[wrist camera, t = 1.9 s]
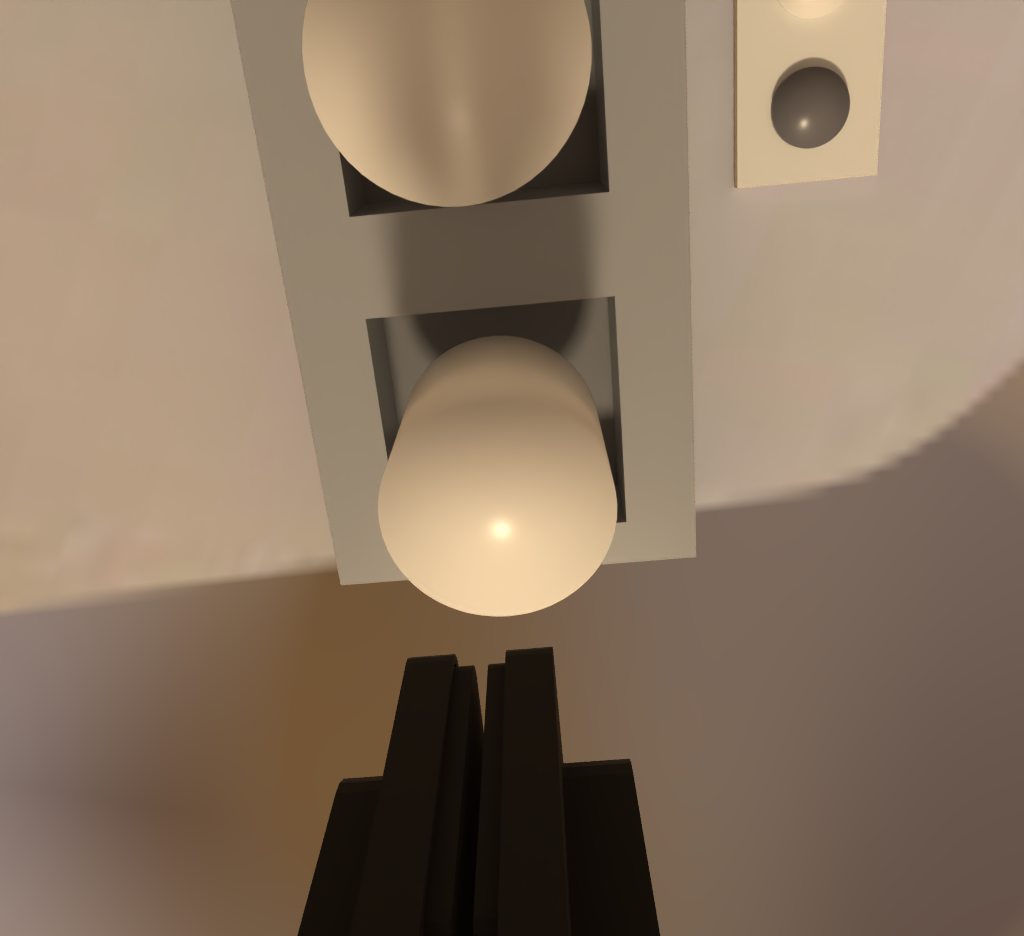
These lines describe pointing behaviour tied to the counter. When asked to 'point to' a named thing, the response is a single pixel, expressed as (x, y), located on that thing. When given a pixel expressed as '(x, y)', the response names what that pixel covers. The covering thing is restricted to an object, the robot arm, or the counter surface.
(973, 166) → the counter surface
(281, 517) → the counter surface
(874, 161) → the card
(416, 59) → the button mid
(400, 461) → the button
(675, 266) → the button board
